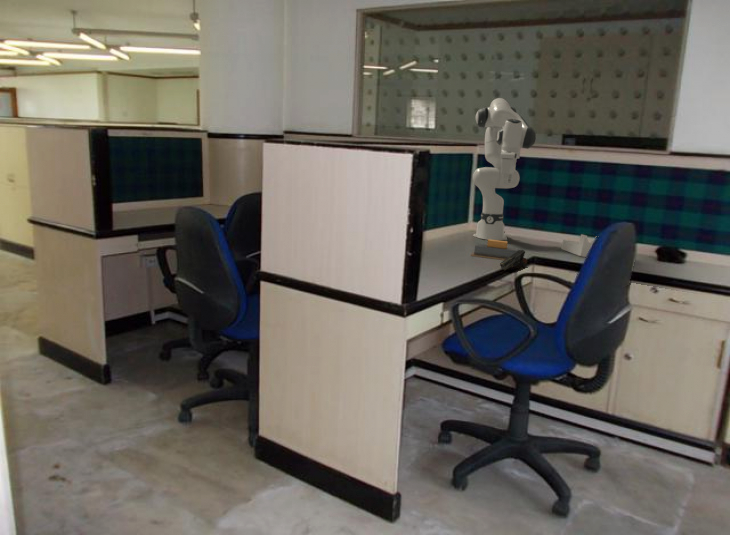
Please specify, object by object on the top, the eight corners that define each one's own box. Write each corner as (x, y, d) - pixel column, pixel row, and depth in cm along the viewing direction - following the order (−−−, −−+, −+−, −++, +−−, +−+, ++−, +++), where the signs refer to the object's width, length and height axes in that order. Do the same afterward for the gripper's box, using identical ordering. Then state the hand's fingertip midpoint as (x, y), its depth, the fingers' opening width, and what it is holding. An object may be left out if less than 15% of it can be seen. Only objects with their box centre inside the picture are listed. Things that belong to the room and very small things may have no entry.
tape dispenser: (597, 258, 307) (602, 237, 305) (580, 256, 304) (585, 235, 302) (577, 250, 324) (581, 231, 322) (561, 248, 321) (565, 229, 319)
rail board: (475, 251, 302) (476, 242, 301) (521, 257, 295) (522, 247, 294) (470, 255, 291) (471, 246, 290) (517, 261, 284) (518, 252, 283)
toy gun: (503, 282, 269) (499, 263, 264) (524, 263, 276) (520, 244, 271) (507, 283, 267) (503, 264, 262) (528, 264, 274) (524, 245, 269)
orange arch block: (487, 252, 296) (488, 239, 294) (506, 254, 293) (507, 241, 291) (486, 253, 293) (487, 240, 291) (505, 256, 290) (506, 242, 288)
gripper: (507, 153, 302) (504, 181, 305) (500, 154, 283) (497, 184, 286) (520, 154, 300) (516, 182, 303) (514, 155, 281) (510, 185, 284)
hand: (507, 183), depth 294 cm, fingers open, 8 cm apart
